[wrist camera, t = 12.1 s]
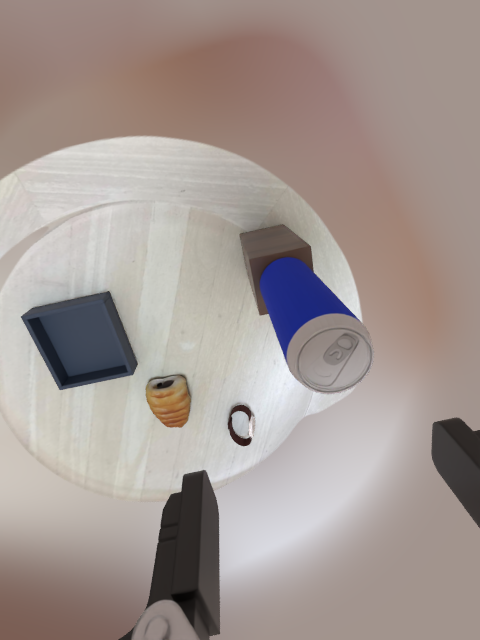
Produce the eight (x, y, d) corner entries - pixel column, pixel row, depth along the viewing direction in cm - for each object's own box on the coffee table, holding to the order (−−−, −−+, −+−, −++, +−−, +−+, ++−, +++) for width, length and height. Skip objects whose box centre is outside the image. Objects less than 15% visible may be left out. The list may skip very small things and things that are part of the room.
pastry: (197, 417, 56) (196, 433, 53) (158, 423, 56) (155, 440, 53) (185, 371, 52) (182, 385, 49) (143, 378, 52) (137, 393, 49)
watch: (255, 435, 59) (258, 451, 55) (229, 438, 59) (230, 454, 55) (253, 400, 56) (255, 415, 52) (225, 403, 55) (226, 418, 52)
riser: (239, 233, 44) (248, 259, 31) (283, 224, 44) (310, 245, 31) (247, 276, 47) (259, 315, 34) (289, 267, 46) (317, 303, 34)
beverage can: (291, 314, 34) (341, 410, 20) (249, 290, 33) (272, 376, 19) (321, 272, 32) (397, 346, 19) (278, 245, 31) (326, 304, 17)
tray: (32, 308, 46) (20, 316, 44) (109, 291, 46) (102, 298, 43) (68, 378, 52) (59, 390, 49) (137, 364, 51) (133, 374, 49)
